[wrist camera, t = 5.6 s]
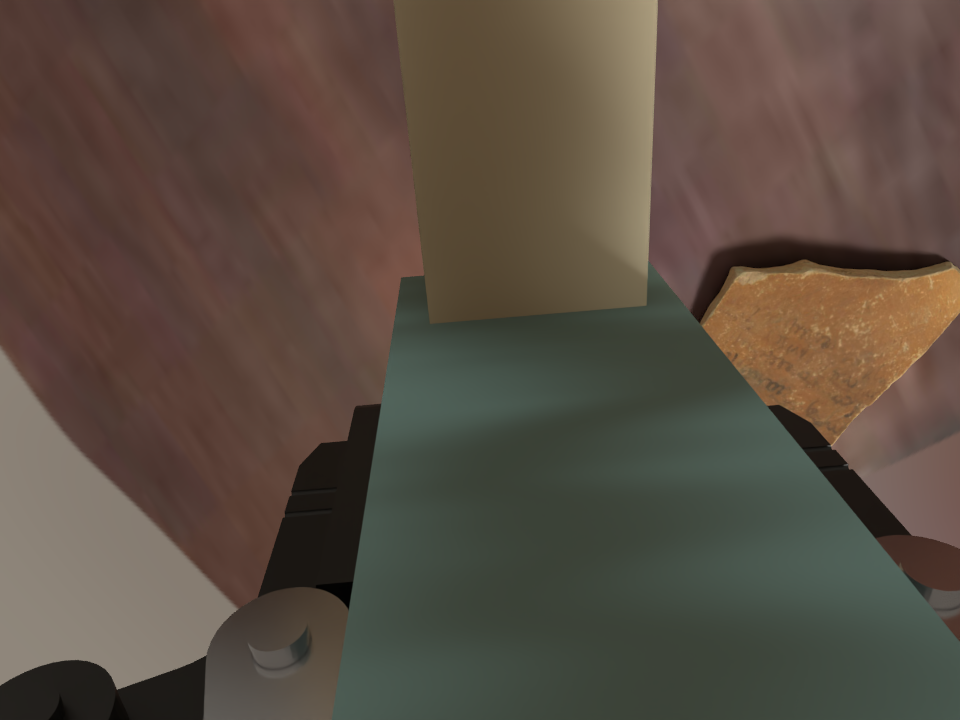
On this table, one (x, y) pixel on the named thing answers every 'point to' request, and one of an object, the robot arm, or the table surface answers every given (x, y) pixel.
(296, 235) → the table surface
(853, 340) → the pottery shard
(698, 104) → the table surface
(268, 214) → the table surface
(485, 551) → the two-colour block
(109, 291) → the table surface
